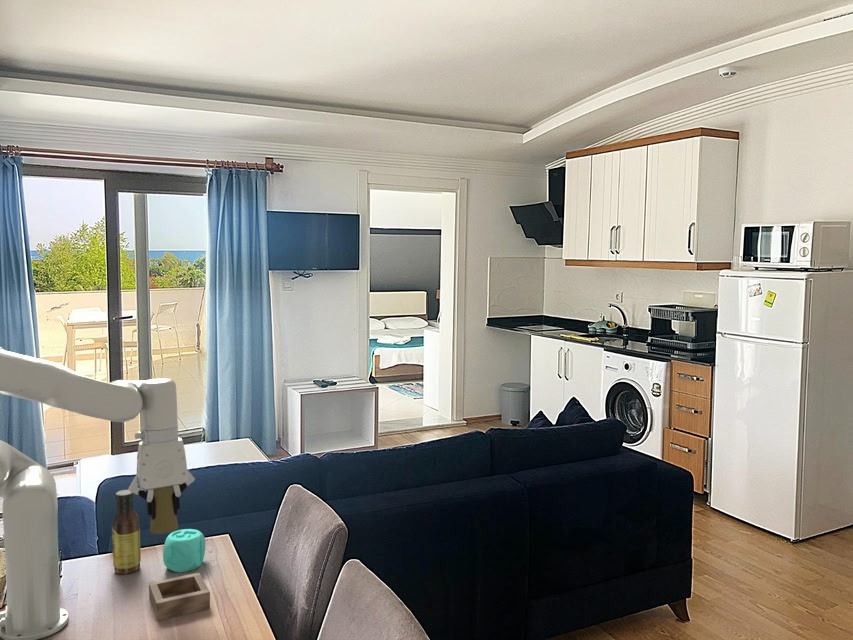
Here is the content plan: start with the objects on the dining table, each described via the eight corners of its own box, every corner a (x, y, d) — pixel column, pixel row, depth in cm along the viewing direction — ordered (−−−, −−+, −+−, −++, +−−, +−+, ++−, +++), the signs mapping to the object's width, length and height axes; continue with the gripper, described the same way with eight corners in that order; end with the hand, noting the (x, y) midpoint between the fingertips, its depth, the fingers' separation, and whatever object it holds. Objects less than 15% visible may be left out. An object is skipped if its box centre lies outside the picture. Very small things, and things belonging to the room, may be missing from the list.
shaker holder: (156, 620, 147) (156, 603, 147) (149, 599, 157) (148, 582, 156) (210, 608, 153) (209, 591, 152) (199, 588, 162) (199, 572, 162)
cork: (169, 534, 152) (167, 485, 151) (144, 533, 153) (141, 484, 152) (183, 524, 158) (181, 477, 157) (158, 522, 159) (156, 476, 158)
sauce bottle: (121, 564, 175) (119, 486, 173) (145, 564, 175) (143, 487, 173) (108, 575, 168) (105, 495, 167) (133, 576, 168) (131, 496, 167)
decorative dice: (195, 572, 170) (195, 541, 170) (163, 572, 170) (162, 540, 170) (205, 559, 178) (205, 528, 178) (174, 558, 178) (174, 528, 178)
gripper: (122, 444, 146) (126, 528, 148) (203, 433, 155) (206, 512, 156) (116, 436, 152) (120, 517, 154) (194, 426, 161) (197, 503, 163)
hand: (163, 514), depth 155 cm, fingers closed on cork, 4 cm apart
